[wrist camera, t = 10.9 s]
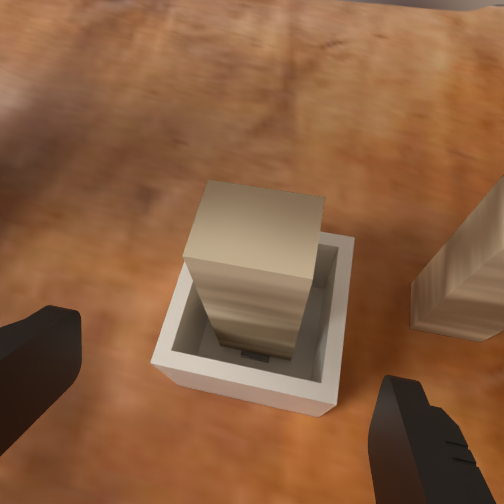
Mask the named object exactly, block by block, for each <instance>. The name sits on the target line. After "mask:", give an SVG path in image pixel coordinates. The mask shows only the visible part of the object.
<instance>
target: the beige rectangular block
mask: <svg viewBox="0 0 504 504" xmlns="http://www.w3.org/2000/svg"><path fill="white" fill-rule="evenodd" d="M410 329H414V330H419V331H424V332H429V333H434V334H440V335H445V336H450V337H455V338H460V339H465V340H470V341H476V342H483V341H484V340H486V339H488V338H490V337H492V336H494V335H496V334H498V333H500V332H502V331H504V175H503V176H502V177H501V178H500V180H499V181H498V182H497V183H496V184H495V185H494V187H493V188H492V189H491V190H490V191H489V192H488V194H487V195H486V196H485V197H484V198H483V199H482V201H481V202H480V203H479V204H478V205H477V206H476V208H475V209H474V210H473V211H472V212H471V214H470V215H469V216H468V217H467V218H466V219H465V221H464V222H463V223H462V224H461V225H460V226H459V228H458V229H457V230H456V231H455V232H454V233H453V235H452V236H451V237H450V238H449V239H448V240H447V242H446V243H445V244H444V245H443V246H442V248H441V249H440V250H439V251H438V252H437V253H436V255H435V256H434V257H433V258H432V259H431V260H430V262H429V263H428V264H427V265H426V266H425V267H424V269H423V270H422V271H421V272H420V273H419V274H418V276H417V277H416V278H415V279H414V280H413V282H412V283H411V304H410Z"/></svg>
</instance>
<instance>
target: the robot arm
mask: <svg viewBox="0 0 504 504" xmlns="http://www.w3.org/2000/svg"><path fill="white" fill-rule="evenodd" d="M81 363H82V346H81V316H80V313H79V312H78V311H76V310H72V309H67V308H62V307H57V306H52V305H48V306H45V307H44V308H42V309H40V310H39V311H37V312H35V313H34V314H32V315H31V316H29V317H27V318H26V319H23V320H20V321H18V322H15V323H12V324H9V325H6V326H3V327H1V328H0V456H1V455H2V454H3V453H4V452H5V451H6V450H7V449H8V448H9V447H10V446H11V445H12V444H13V443H14V442H15V441H16V440H17V439H18V438H19V437H20V436H21V435H22V434H23V433H24V432H25V431H26V430H27V429H28V428H29V427H30V426H31V425H32V424H33V423H34V422H35V421H36V420H37V419H38V418H39V417H40V416H41V415H42V414H43V413H44V412H45V411H46V410H47V409H48V408H49V407H50V406H51V405H52V404H53V403H54V402H55V401H56V400H57V399H58V398H59V397H60V396H61V395H62V394H63V393H64V392H65V391H66V390H67V389H68V388H69V387H70V386H71V385H72V384H73V383H74V381H75V380H76V378H77V376H78V374H79V371H80V368H81ZM368 454H369V461H370V467H371V474H372V480H373V486H374V492H375V499H376V504H496V502H495V500H494V498H493V496H492V494H491V492H490V490H489V488H488V486H487V484H486V482H485V480H484V477H483V475H482V473H481V471H480V469H479V467H476V461H475V459H474V457H473V455H472V453H471V451H470V450H468V445H467V443H466V440H465V438H464V436H463V434H462V432H461V430H460V428H459V426H458V425H457V424H456V423H455V422H454V421H453V420H452V419H451V418H450V417H449V416H448V415H447V414H446V412H445V411H444V410H443V409H442V408H439V407H434V406H430V404H429V402H428V400H427V397H426V395H425V392H424V390H423V388H422V385H421V383H420V382H419V381H416V380H411V379H406V378H401V377H396V376H391V375H385V377H384V378H383V381H382V384H381V388H380V391H379V395H378V399H377V402H376V406H375V409H374V413H373V417H372V420H371V424H370V428H369V435H368Z"/></svg>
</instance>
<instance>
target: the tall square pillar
mask: <svg viewBox="0 0 504 504" xmlns="http://www.w3.org/2000/svg"><path fill="white" fill-rule="evenodd" d="M324 202H325V197H320V196H314V195H307V194H300V193H294V192H287V191H281V190H274V189H267V188H261V187H254V186H248V185H241V184H234V183H228V182H221V181H214V180H208V181H207V184H206V187H205V190H204V193H203V196H202V199H201V202H200V205H199V208H198V211H197V214H196V217H195V220H194V223H193V226H192V229H191V232H190V235H189V238H188V241H187V244H186V247H185V250H184V253H183V258H184V261H185V263H186V266H187V268H188V270H189V273H190V275H191V277H192V280H193V282H194V285H195V287H196V289H197V292H198V294H199V296H200V299H201V301H202V303H203V306H204V308H205V311H206V313H207V315H208V318H209V320H210V322H211V325H212V327H213V330H214V332H215V334H216V337H217V339H218V341H219V344H220V346H223V347H228V348H233V349H238V350H243V351H247V352H252V353H257V354H262V355H267V356H272V357H276V358H281V359H286V360H291V358H292V354H293V351H294V347H295V343H296V340H297V336H298V332H299V328H300V325H301V321H302V317H303V314H304V310H305V306H306V303H307V299H308V295H309V292H310V288H311V284H312V281H313V275H314V268H315V262H316V255H317V248H318V242H319V235H320V228H321V222H322V215H323V209H324Z"/></svg>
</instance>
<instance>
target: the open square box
mask: <svg viewBox="0 0 504 504" xmlns="http://www.w3.org/2000/svg"><path fill="white" fill-rule="evenodd" d="M354 239H355V237H350V236H344V235H338V234H332V233H326V232H320V235H319V242H318V248H317V255H316V262H315V268H314V275H313V281H312V284H311V288H310V292H309V295H308V299H307V303H306V306H305V310H304V314H303V317H302V321H301V325H300V328H299V332H298V336H297V340H296V343H295V347H294V351H293V354H292V358H291V360H286V359H281V358H276V357H272V356H267V355H262V354H257V353H252V352H247V351H243V350H238V349H233V348H228V347H223V346H220V344H219V341H218V339H217V337H216V334H215V332H214V330H213V327H212V325H211V322H210V320H209V318H208V315H207V313H206V311H205V308H204V306H203V303H202V301H201V299H200V296H199V294H198V292H197V289H196V287H195V285H194V282H193V280H192V277H191V275H190V273H189V270H188V268H187V266H186V263H185V261H184V264H183V267H182V270H181V273H180V276H179V279H178V282H177V285H176V288H175V291H174V294H173V297H172V300H171V303H170V306H169V309H168V312H167V315H166V318H165V321H164V324H163V327H162V330H161V333H160V336H159V339H158V342H157V345H156V348H155V351H154V354H153V357H152V360H151V362H150V363H151V364H152V365H153V366H155V367H156V368H157V369H158V370H160V371H161V372H162V373H164V374H165V375H166V376H167V377H169V378H170V379H171V380H172V381H174V382H175V383H176V384H178V385H179V386H183V387H188V388H192V389H196V390H201V391H205V392H209V393H214V394H218V395H222V396H227V397H231V398H235V399H240V400H244V401H248V402H253V403H257V404H261V405H266V406H270V407H275V408H279V409H283V410H288V411H292V412H296V413H301V414H305V415H309V416H314V417H320V416H321V415H323V414H324V413H326V412H327V411H329V410H330V409H332V408H333V407H335V406H336V405H337V397H338V388H339V379H340V369H341V360H342V351H343V341H344V332H345V323H346V314H347V304H348V295H349V286H350V276H351V267H352V258H353V248H354Z"/></svg>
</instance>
